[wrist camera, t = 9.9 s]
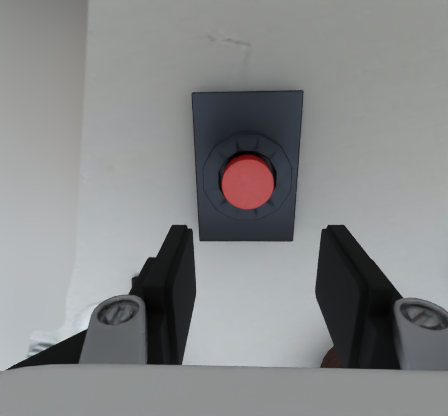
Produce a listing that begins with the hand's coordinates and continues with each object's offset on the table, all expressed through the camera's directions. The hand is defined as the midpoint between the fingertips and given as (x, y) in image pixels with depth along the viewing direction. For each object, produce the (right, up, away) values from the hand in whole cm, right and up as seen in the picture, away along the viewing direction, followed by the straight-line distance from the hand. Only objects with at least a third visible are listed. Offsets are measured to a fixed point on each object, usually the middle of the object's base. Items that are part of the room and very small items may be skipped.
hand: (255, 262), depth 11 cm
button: (+1, +4, +11) cm, 12 cm away
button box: (+1, +6, +14) cm, 15 cm away
